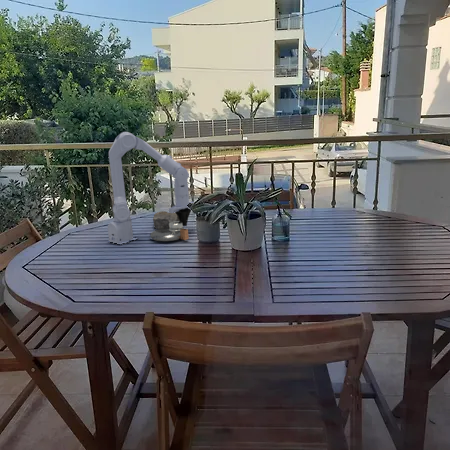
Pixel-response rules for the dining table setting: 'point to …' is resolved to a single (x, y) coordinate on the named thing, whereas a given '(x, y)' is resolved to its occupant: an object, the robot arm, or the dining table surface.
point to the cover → (175, 226)
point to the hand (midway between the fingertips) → (184, 225)
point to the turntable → (169, 235)
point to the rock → (164, 219)
